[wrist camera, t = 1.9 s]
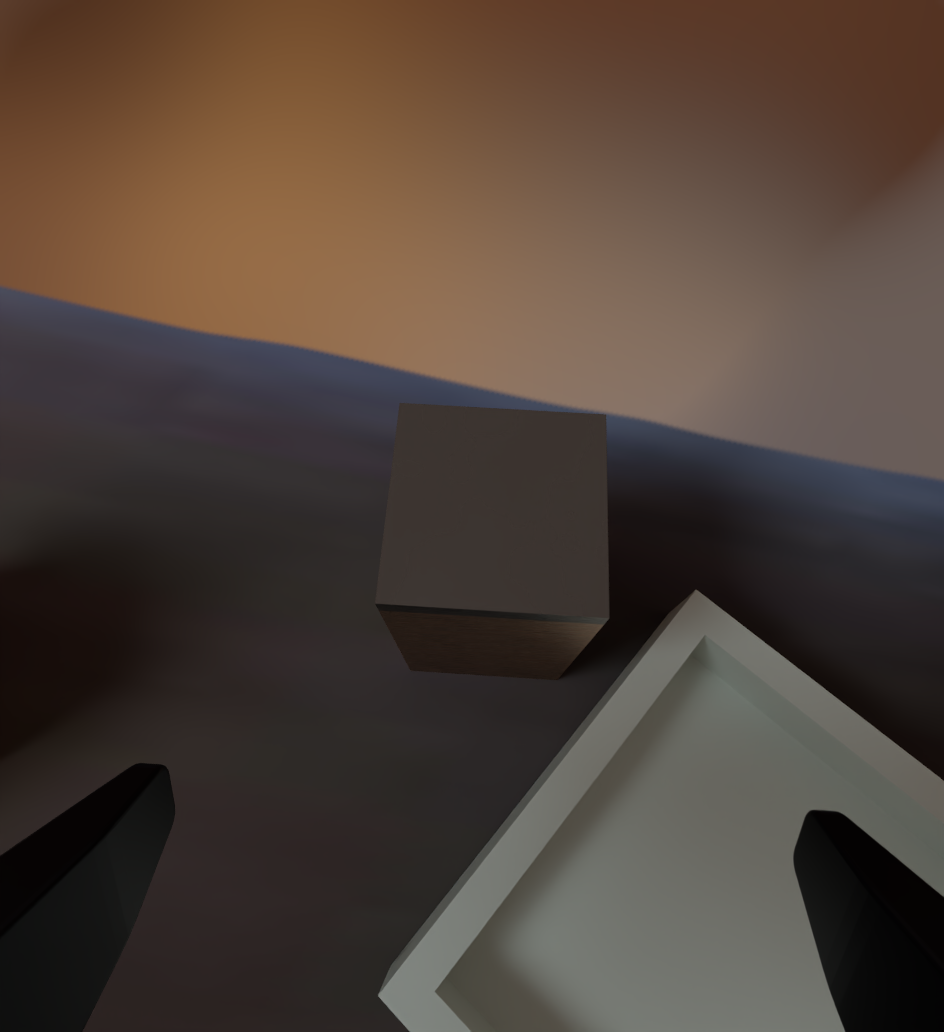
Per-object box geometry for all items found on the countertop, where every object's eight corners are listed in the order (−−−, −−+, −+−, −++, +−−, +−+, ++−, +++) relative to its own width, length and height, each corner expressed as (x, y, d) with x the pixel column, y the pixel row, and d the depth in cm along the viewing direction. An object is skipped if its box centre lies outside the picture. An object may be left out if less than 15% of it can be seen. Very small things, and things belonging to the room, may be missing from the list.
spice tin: (556, 680, 22) (609, 618, 14) (410, 670, 22) (375, 603, 14) (558, 542, 24) (605, 414, 16) (423, 533, 24) (399, 403, 16)
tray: (812, 1427, 16) (886, 1567, 13) (391, 964, 19) (377, 995, 16) (1054, 918, 20) (1150, 940, 17) (668, 612, 23) (696, 589, 20)
